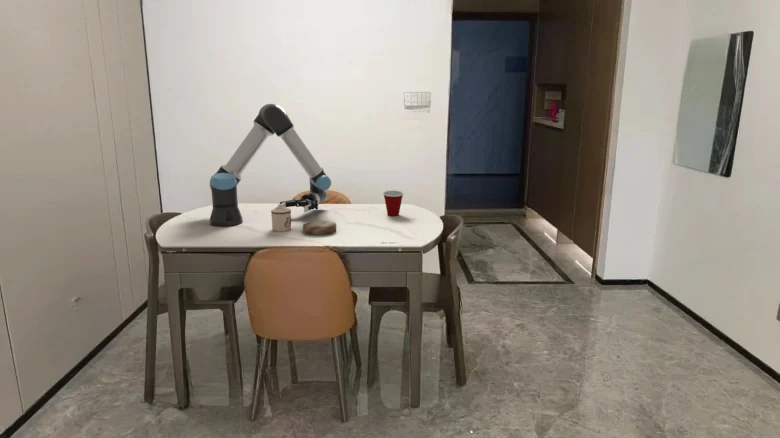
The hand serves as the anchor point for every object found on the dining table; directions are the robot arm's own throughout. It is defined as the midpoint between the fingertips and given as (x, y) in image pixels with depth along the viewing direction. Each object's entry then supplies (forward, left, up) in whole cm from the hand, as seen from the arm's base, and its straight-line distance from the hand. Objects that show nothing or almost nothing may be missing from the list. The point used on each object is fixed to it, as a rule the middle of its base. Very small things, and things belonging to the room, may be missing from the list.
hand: (291, 208), depth 259 cm
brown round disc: (+18, -10, -7) cm, 22 cm away
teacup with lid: (0, -10, -7) cm, 12 cm away
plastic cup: (+42, +31, -7) cm, 53 cm away
